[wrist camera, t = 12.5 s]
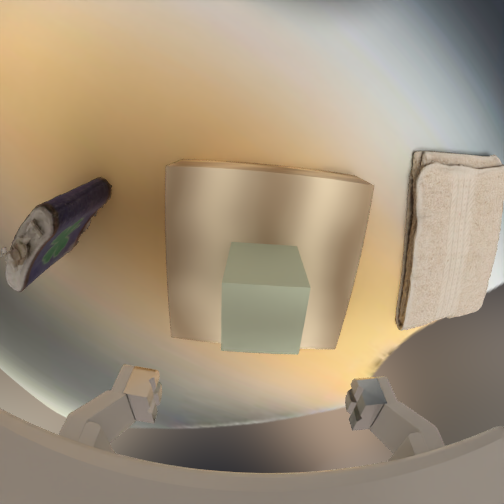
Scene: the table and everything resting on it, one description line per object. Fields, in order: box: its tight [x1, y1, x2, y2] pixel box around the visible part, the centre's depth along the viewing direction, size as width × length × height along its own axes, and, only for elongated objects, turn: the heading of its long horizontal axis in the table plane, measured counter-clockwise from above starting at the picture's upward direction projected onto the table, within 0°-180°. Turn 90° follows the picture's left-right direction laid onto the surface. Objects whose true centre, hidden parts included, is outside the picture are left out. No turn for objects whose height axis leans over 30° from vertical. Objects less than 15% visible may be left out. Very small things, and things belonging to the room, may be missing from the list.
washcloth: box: [396, 151, 504, 330], centre depth 24 cm, size 12×18×3 cm, turn 7°
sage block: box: [221, 242, 311, 354], centre depth 19 cm, size 4×4×6 cm
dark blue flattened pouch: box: [1, 177, 112, 292], centre depth 20 cm, size 9×3×11 cm, turn 132°
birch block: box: [165, 159, 374, 349], centre depth 24 cm, size 14×14×5 cm
